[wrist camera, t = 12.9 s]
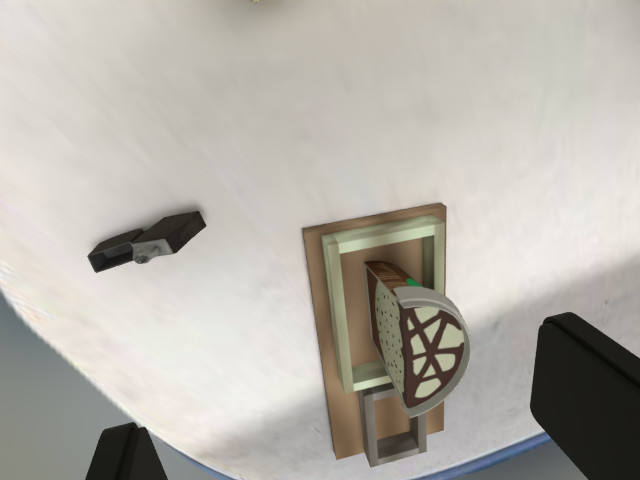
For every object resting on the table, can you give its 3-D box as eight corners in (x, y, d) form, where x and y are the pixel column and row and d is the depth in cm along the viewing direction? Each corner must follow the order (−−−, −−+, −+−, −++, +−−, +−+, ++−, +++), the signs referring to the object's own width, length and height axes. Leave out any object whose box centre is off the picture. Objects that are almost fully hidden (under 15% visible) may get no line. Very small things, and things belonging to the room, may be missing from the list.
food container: (425, 337, 44) (475, 404, 35) (372, 350, 44) (410, 422, 35) (422, 235, 40) (480, 283, 30) (362, 248, 39) (403, 301, 30)
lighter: (138, 244, 38) (91, 281, 33) (126, 224, 37) (76, 258, 32) (210, 233, 34) (168, 272, 30) (198, 210, 33) (153, 247, 29)
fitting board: (440, 202, 40) (460, 214, 37) (438, 422, 52) (453, 446, 49) (302, 228, 38) (309, 243, 35) (334, 451, 50) (341, 478, 47)
